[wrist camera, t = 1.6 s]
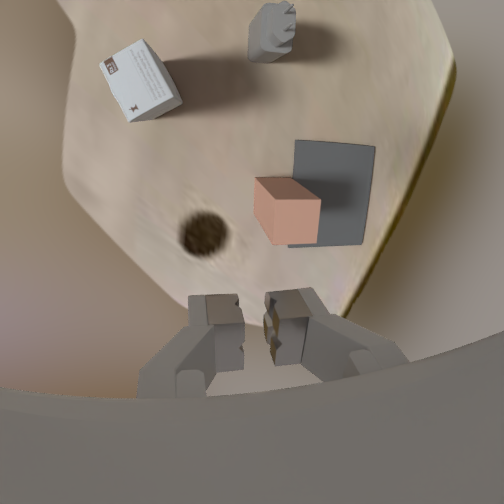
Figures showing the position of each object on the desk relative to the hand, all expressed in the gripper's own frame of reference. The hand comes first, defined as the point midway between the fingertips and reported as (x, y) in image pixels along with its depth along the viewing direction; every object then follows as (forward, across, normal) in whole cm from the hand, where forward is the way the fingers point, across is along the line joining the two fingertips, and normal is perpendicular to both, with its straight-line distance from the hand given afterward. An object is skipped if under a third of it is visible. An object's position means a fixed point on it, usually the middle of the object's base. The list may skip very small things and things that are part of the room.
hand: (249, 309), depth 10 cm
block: (+29, -8, +4) cm, 30 cm away
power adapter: (+29, -6, -15) cm, 33 cm away
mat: (+29, -16, +4) cm, 33 cm away
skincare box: (+29, +6, -9) cm, 31 cm away
